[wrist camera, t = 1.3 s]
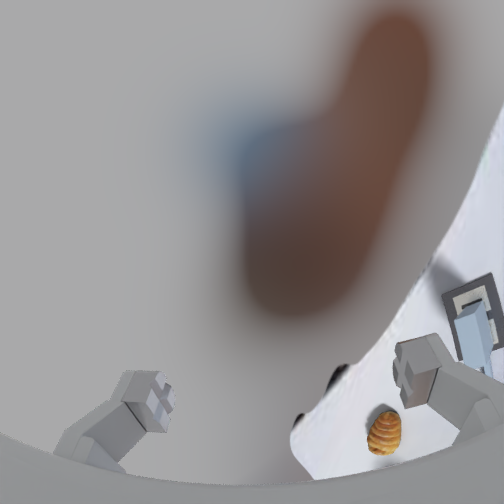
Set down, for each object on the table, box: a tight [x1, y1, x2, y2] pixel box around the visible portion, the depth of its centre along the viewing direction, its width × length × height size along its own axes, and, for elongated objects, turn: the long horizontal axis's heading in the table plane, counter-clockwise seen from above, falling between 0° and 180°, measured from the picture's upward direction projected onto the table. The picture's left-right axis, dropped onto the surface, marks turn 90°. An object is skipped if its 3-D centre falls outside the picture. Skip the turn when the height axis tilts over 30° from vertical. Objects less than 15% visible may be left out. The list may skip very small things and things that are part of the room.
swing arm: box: [454, 300, 494, 378], centre depth 29 cm, size 21×4×8 cm, turn 27°
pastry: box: [367, 411, 401, 455], centre depth 45 cm, size 9×7×4 cm
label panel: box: [442, 274, 504, 361], centre depth 35 cm, size 9×11×1 cm
